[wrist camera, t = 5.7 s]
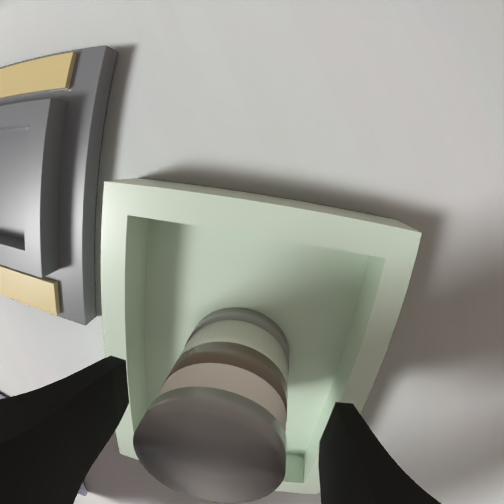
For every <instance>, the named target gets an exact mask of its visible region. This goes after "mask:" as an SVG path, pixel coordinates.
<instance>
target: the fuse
mask: <svg viewBox="0 0 504 504" xmlns="http://www.w3.org/2000/svg"><path fill="white" fill-rule="evenodd" d="M289 353H290V351H289V345H288V341H287V339H286V336H285V334H284V333H283V331H282V330H281V328H280V327H279V326H278V325H277V324H276V323H275V322H274V321H273V320H271V319H270V318H269V317H267V316H265V315H264V314H262V313H260V312H257V311H254V310H251V309H247V308H241V307H230V308H223V309H219V310H216V311H214V312H212V313H210V314H208V315H206V316H205V317H204V318H203V319H201V320H200V321H199V323H198V324H197V325H196V327H195V328H194V330H193V332H192V333H191V335H190V337H189V339H188V340H187V342H186V345H185V348H184V350H183V352H182V353H181V355H180V357H179V358H178V360H177V361H176V363H175V364H174V366H173V368H172V370H171V371H170V373H169V375H168V377H167V378H166V380H165V382H164V384H163V386H162V388H161V390H160V392H159V394H158V395H157V397H156V399H155V400H154V401H153V402H152V403H151V404H150V406H149V408H148V409H147V411H146V413H145V415H144V416H143V418H142V420H141V422H140V423H139V425H138V427H137V429H136V431H135V433H134V436H133V447H134V451H135V453H136V456H137V458H138V459H139V461H140V462H141V464H142V465H143V466H144V468H145V469H146V470H147V471H148V472H149V473H150V474H151V475H152V476H154V477H155V478H156V479H157V480H159V481H160V482H161V483H163V484H165V485H166V486H168V487H169V488H171V489H173V490H175V491H177V492H180V493H182V494H184V495H187V496H190V497H193V498H196V499H200V500H205V501H210V502H217V503H242V502H248V501H253V500H256V499H260V498H262V497H264V496H267V495H268V494H270V493H272V492H273V491H274V490H276V489H277V488H278V487H279V486H280V485H281V483H282V481H283V480H284V477H285V470H286V451H287V440H286V435H285V433H286V421H287V399H288V389H287V381H288V374H289Z"/></svg>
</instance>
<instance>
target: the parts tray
mask: <svg viewBox="0 0 504 504" xmlns="http://www.w3.org/2000/svg"><path fill="white" fill-rule="evenodd" d="M421 234H422V233H421V232H419V231H417V230H415V229H414V228H412V227H410V226H408V225H406V224H404V223H402V222H400V221H398V220H394V219H390V218H385V217H380V216H376V215H371V214H366V213H361V212H356V211H351V210H346V209H341V208H336V207H330V206H325V205H319V204H314V203H308V202H303V201H297V200H291V199H285V198H279V197H273V196H267V195H261V194H255V193H248V192H242V191H235V190H228V189H221V188H214V187H207V186H199V185H192V184H184V183H176V182H167V181H159V180H150V179H141V178H132V179H122V180H113V181H104V190H103V205H102V225H101V304H102V323H103V338H104V350H105V358H106V357H109V356H114V357H117V358H121V359H124V360H126V369H127V383H128V394H129V404H128V406H127V409H126V411H125V413H124V415H123V417H122V419H121V421H120V423H119V425H118V427H117V428H116V430H115V432H116V437H117V442H118V447H119V452H120V454H122V455H125V456H128V457H131V458H134V459H136V460H139V459H138V458H137V456H136V453H135V451H134V447H133V436H134V433H135V431H136V429H137V427H138V425H139V423H140V422H141V420H142V418H143V416H144V415H145V413H146V411H147V409H148V408H149V406H150V404H151V403H152V402H153V401H154V400H155V399H156V397H157V395H158V394H159V392H160V390H161V388H162V386H163V384H164V382H165V380H166V378H167V377H168V375H169V373H170V371H171V370H172V368H173V366H174V364H175V363H176V361H177V360H178V358H179V357H180V355H181V353H182V352H183V350H184V348H185V345H186V342H187V340H188V339H189V337H190V335H191V333H192V332H193V330H194V328H195V327H196V325H197V324H198V323H199V321H200V320H201V319H203V318H204V317H205V316H206V315H208V314H210V313H212V312H214V311H216V310H219V309H223V308H230V307H241V308H247V309H251V310H254V311H257V312H260V313H262V314H264V315H265V316H267V317H269V318H270V319H271V320H273V321H274V322H275V323H276V324H277V325H278V326H279V327H280V328H281V330H282V331H283V333H284V334H285V336H286V339H287V341H288V345H289V351H290V353H289V374H288V381H287V389H288V399H287V421H286V433H285V435H286V440H287V451H286V470H285V477H284V480H283V481H282V483H281V485H280V486H279V487H278V488H277V489H276V490H274V491H281V492H291V493H303V494H319V492H320V480H319V468H318V462H319V441H320V439H321V437H322V434H323V432H324V430H325V427H326V425H327V422H328V420H329V417H330V415H331V412H332V410H333V407H334V405H335V402H342V403H353V404H354V406H355V407H356V409H357V410H358V412H359V413H360V414H361V412H362V410H363V408H364V405H365V403H366V401H367V399H368V396H369V394H370V392H371V389H372V387H373V385H374V382H375V380H376V377H377V375H378V372H379V370H380V367H381V365H382V362H383V360H384V357H385V354H386V352H387V349H388V346H389V343H390V341H391V338H392V335H393V332H394V329H395V326H396V323H397V320H398V317H399V314H400V311H401V308H402V305H403V302H404V298H405V295H406V292H407V288H408V285H409V281H410V278H411V274H412V270H413V267H414V263H415V259H416V255H417V251H418V247H419V243H420V239H421Z"/></svg>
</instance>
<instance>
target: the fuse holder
mask: <svg viewBox="0 0 504 504" xmlns="http://www.w3.org/2000/svg"><path fill="white" fill-rule="evenodd" d="M117 53H118V52H117V51H115V50H113V49H112V48H110V47H108V46H98V47H91V48H85V49H78V50H73V51H67V52H62V53H57V54H52V55H47V56H43V57H38V58H34V59H30V60H26V61H22V62H18V63H15V64H11V65H8V66H4V67H1V68H0V294H2V295H4V296H7V297H9V298H12V299H14V300H17V301H19V302H22V303H24V304H27V305H29V306H32V307H34V308H37V309H40V310H42V311H45V312H48V313H50V314H53V315H56V316H59V317H62V318H65V319H68V320H71V321H74V322H77V323H80V324H83V325H87V324H88V323H89V322H90V321H91V320H93V319H94V318H95V317H96V303H95V269H94V248H95V214H96V196H97V182H98V171H99V161H100V152H101V143H102V136H103V128H104V121H105V115H106V109H107V103H108V97H109V92H110V86H111V81H112V76H113V71H114V67H115V62H116V58H117Z"/></svg>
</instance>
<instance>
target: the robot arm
mask: <svg viewBox="0 0 504 504" xmlns="http://www.w3.org/2000/svg"><path fill="white" fill-rule="evenodd" d="M128 404H129V394H128V383H127V369H126V360H124V359H121V358H117V357H114V356H109V357H106V358H104V359H102V360H100V361H98V362H96V363H94V364H92V365H90V366H88V367H86V368H84V369H82V370H80V371H78V372H76V373H74V374H72V375H70V376H68V377H66V378H64V379H61V380H59V381H56V382H54V383H52V384H49V385H47V386H44V387H42V388H39V389H36V390H34V391H30V392H27V393H24V394H20V395H17V396H13V397H8V398H6V397H4V396H2V395H1V394H0V504H73V503H74V500H75V498H76V496H77V493H78V494H81V495H83V496H86V495H87V491H86V489H85V486H84V484H83V481H84V479H85V476H86V474H87V473H88V471H89V469H90V468H91V466H92V464H93V463H94V461H95V460H96V458H97V457H98V455H99V454H100V452H101V451H102V449H103V448H104V446H105V445H106V443H107V442H108V440H109V439H110V437H111V436H112V434H113V433H114V431H115V430H116V428H117V427H118V425H119V423H120V421H121V419H122V417H123V415H124V413H125V411H126V409H127V406H128ZM318 468H319V480H320V492H321V503H322V504H441V503H440V502H438V501H437V500H436V499H434V498H433V497H432V496H430V495H429V494H428V493H427V492H425V491H424V490H423V489H422V488H421V487H420V486H418V485H417V484H416V483H415V482H414V481H413V480H412V479H411V478H410V477H409V476H408V475H407V474H406V473H405V472H404V471H403V470H402V469H401V468H400V467H399V465H398V464H397V463H396V462H395V461H394V460H393V459H392V457H391V456H390V455H389V454H388V452H387V451H386V450H385V449H384V447H383V446H382V445H381V443H380V442H379V441H378V439H377V438H376V437H375V435H374V434H373V432H372V431H371V429H370V428H369V426H368V425H367V424H366V422H365V421H364V419H363V418H362V416H361V415H360V413H359V412H358V410H357V409H356V407H355V406H354V404H353V403H342V402H335V405H334V407H333V410H332V412H331V415H330V417H329V420H328V422H327V425H326V427H325V430H324V432H323V434H322V437H321V439H320V441H319V462H318Z"/></svg>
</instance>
